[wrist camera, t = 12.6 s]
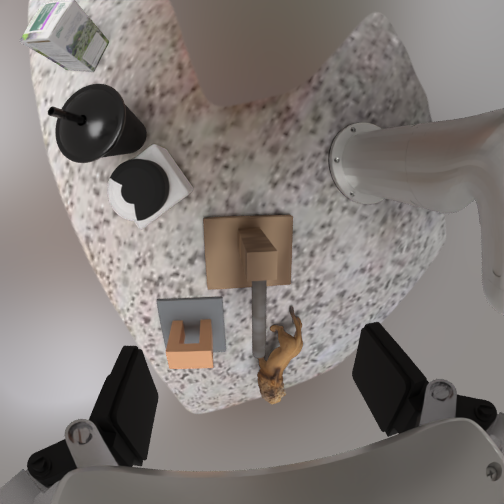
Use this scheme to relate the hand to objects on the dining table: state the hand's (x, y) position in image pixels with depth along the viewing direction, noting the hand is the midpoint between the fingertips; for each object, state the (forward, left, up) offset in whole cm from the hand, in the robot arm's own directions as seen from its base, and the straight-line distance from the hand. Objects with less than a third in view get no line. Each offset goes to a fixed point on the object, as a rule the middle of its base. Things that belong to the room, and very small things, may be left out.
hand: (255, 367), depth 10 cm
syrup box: (+21, -28, -29) cm, 45 cm away
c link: (+6, +16, -28) cm, 32 cm away
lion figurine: (-8, +21, -29) cm, 36 cm away
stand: (-3, +6, -28) cm, 29 cm away
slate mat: (+6, +16, -28) cm, 33 cm away
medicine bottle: (+9, -6, -29) cm, 30 cm away
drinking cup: (+13, -13, -29) cm, 34 cm away
